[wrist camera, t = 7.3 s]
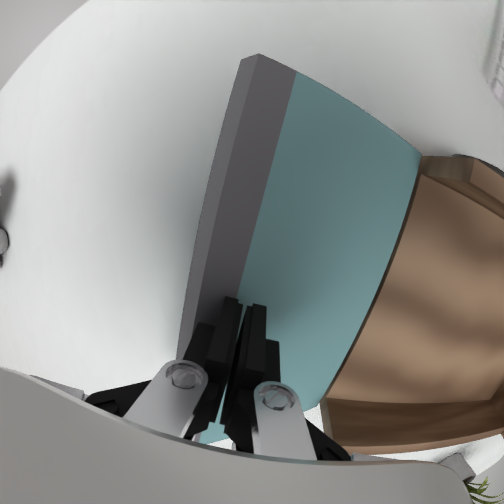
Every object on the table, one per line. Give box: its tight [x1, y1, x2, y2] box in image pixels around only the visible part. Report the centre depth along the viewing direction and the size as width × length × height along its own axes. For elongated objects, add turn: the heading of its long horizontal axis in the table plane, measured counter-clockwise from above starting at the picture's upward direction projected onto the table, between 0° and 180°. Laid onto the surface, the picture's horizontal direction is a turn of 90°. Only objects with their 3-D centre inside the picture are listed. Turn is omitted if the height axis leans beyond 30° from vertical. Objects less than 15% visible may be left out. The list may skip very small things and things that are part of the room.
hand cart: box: [319, 154, 504, 455], centre depth 15 cm, size 22×24×10 cm
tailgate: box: [176, 54, 422, 444], centre depth 14 cm, size 20×1×12 cm
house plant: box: [439, 453, 503, 504], centre depth 20 cm, size 14×14×16 cm
